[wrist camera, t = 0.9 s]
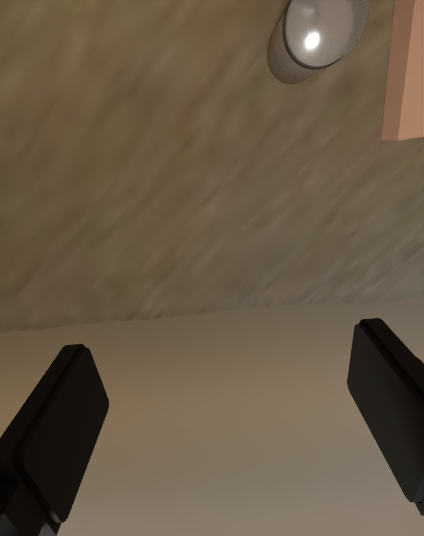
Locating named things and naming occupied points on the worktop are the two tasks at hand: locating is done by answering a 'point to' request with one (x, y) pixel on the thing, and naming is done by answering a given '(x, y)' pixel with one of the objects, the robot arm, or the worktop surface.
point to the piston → (314, 36)
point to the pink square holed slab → (405, 73)
